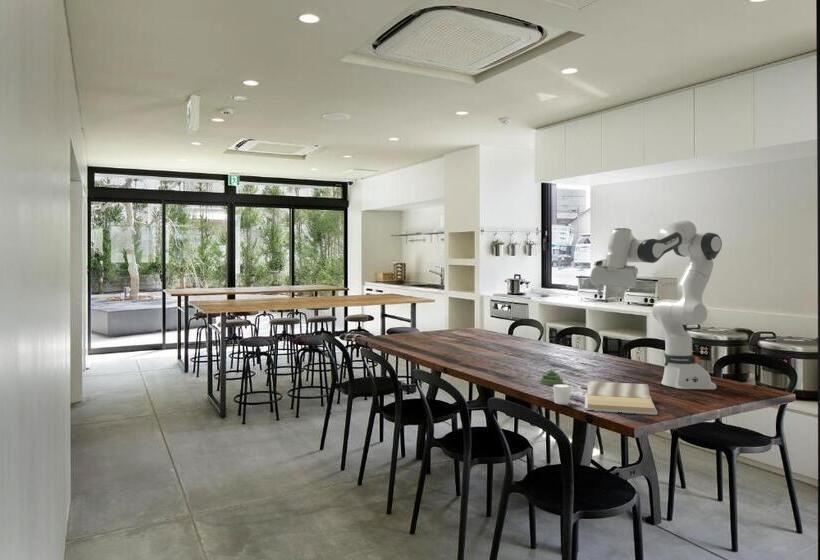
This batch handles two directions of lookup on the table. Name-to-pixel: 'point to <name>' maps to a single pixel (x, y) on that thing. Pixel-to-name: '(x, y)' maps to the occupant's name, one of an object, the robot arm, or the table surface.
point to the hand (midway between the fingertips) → (609, 296)
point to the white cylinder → (561, 393)
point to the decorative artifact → (551, 379)
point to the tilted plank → (618, 389)
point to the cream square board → (620, 404)
